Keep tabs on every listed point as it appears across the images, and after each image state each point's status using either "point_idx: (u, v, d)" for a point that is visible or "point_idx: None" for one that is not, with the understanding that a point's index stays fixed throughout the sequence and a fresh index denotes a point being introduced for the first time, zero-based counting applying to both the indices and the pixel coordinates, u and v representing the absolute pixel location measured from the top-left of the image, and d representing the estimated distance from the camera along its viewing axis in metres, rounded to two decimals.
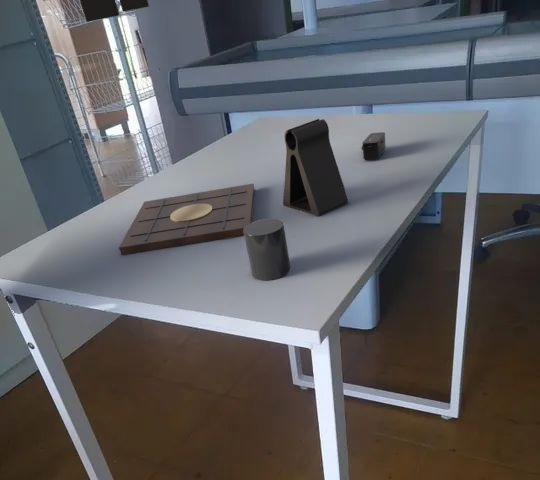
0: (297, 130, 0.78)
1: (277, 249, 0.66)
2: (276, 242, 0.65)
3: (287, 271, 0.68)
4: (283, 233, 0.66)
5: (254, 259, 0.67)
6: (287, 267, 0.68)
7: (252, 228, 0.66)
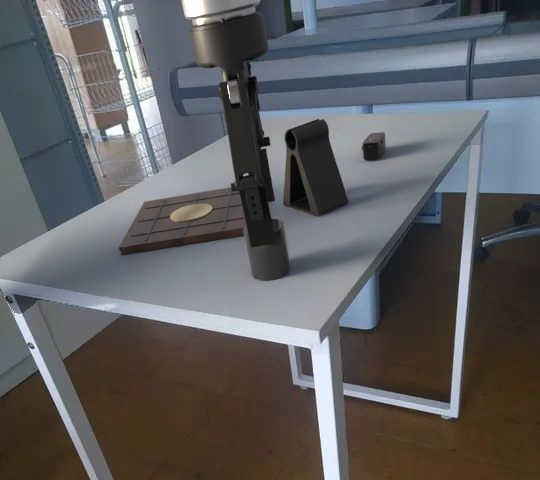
0: (297, 130, 0.78)
1: (277, 249, 0.66)
2: (276, 242, 0.65)
3: (287, 271, 0.68)
4: (283, 233, 0.66)
5: (254, 259, 0.67)
6: (287, 267, 0.68)
7: None
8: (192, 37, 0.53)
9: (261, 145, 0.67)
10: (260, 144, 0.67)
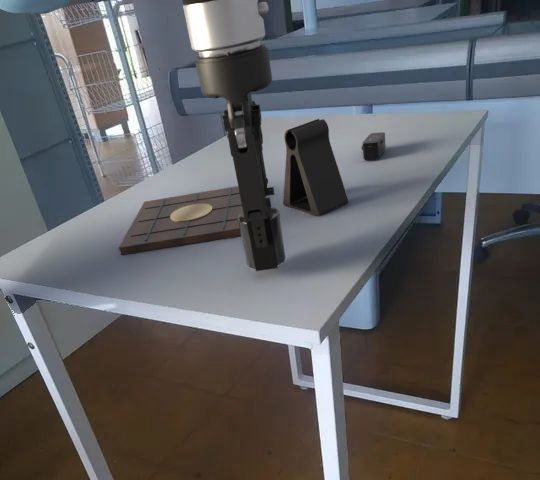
0: (297, 130, 0.78)
1: None
2: None
3: (282, 260, 0.67)
4: (278, 221, 0.65)
5: (248, 248, 0.66)
6: (282, 256, 0.67)
7: None
8: (198, 68, 0.55)
9: (264, 192, 0.67)
10: (263, 191, 0.67)
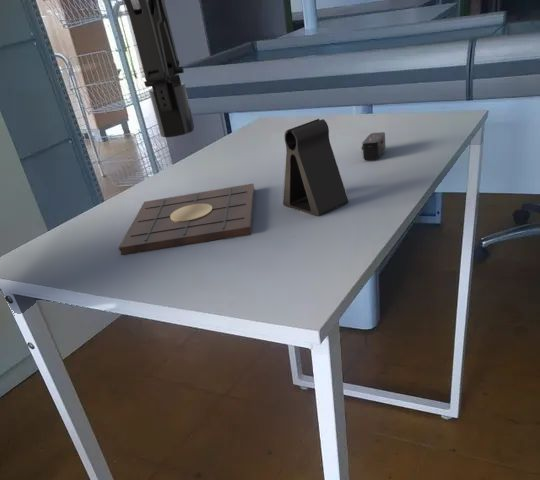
0: (297, 130, 0.78)
1: None
2: (177, 99, 0.74)
3: (190, 130, 0.77)
4: (184, 92, 0.74)
5: (159, 116, 0.75)
6: (190, 126, 0.77)
7: None
8: None
9: (174, 70, 0.76)
10: (173, 69, 0.76)
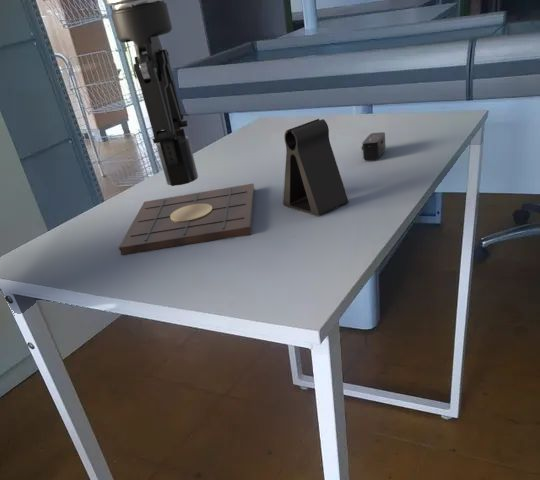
0: (297, 130, 0.78)
1: None
2: (182, 152, 0.81)
3: (194, 178, 0.84)
4: (188, 145, 0.82)
5: (165, 167, 0.83)
6: (194, 175, 0.84)
7: None
8: (112, 19, 0.72)
9: (179, 124, 0.84)
10: (178, 123, 0.84)
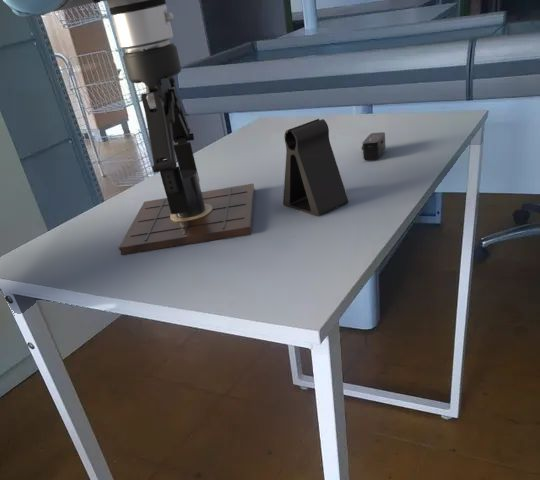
0: (297, 130, 0.78)
1: (191, 192, 0.85)
2: (190, 187, 0.84)
3: (201, 211, 0.87)
4: (196, 180, 0.85)
5: None
6: (201, 207, 0.87)
7: None
8: (124, 61, 0.75)
9: (186, 139, 0.89)
10: (185, 139, 0.89)
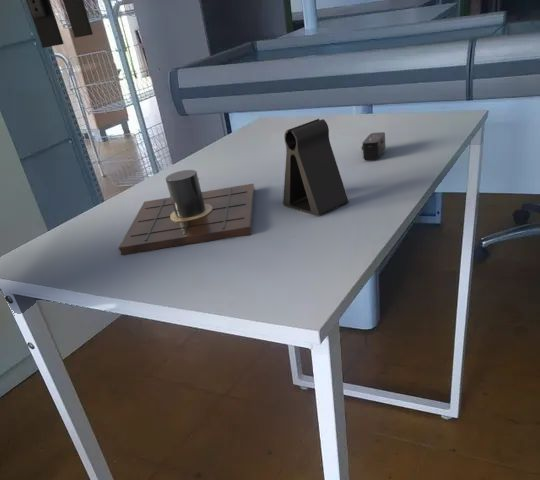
0: (297, 130, 0.78)
1: (191, 192, 0.85)
2: (190, 187, 0.84)
3: (201, 211, 0.87)
4: (196, 180, 0.85)
5: (174, 201, 0.86)
6: (201, 207, 0.87)
7: (173, 176, 0.85)
8: None
9: None
10: None
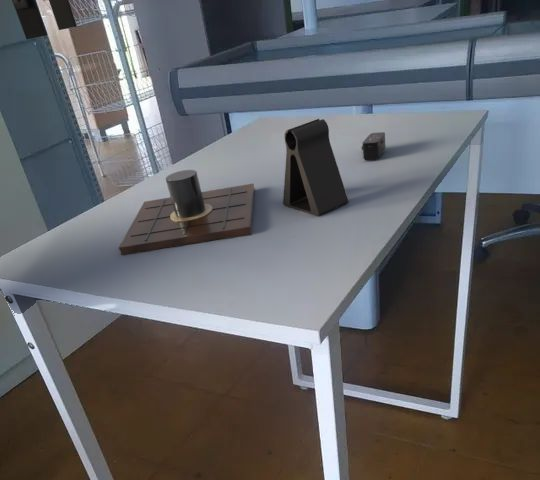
0: (297, 130, 0.78)
1: (191, 192, 0.85)
2: (190, 187, 0.84)
3: (201, 211, 0.87)
4: (196, 180, 0.85)
5: (174, 201, 0.86)
6: (201, 207, 0.87)
7: (173, 176, 0.85)
8: None
9: None
10: None
